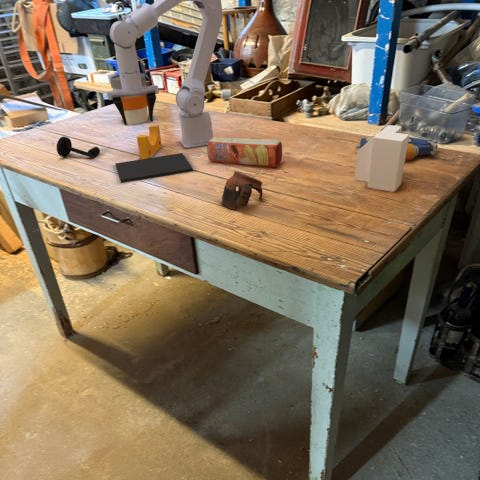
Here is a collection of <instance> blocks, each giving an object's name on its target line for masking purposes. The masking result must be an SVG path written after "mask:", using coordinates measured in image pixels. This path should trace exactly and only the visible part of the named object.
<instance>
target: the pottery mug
mask: <svg viewBox="0 0 480 480" xmlns="http://www.w3.org/2000/svg"><path fill="white" fill-rule="evenodd" d="M262 185H263V181H262V180H260V179H257V178H255V177H252V176H249V175H247V174H245V173H242V172H240V171H237V170H234V171H233V175H232V176H230V177H229V178H228V179H227V180H226V182H225V185H224V187H223V193H222V195H221V205H222V206H224V207H226V208H228V209H231V210H233V211H234V210H236V205H237V206H239V208H244V207H247V206H248V204H249V201H250V198H251V195H252V194H253V190H255V191H256V192H257V193H258V194H259V195H258V196H259V197H258V200H259V201H262V200H263V196H264V195H263V188H262Z"/></svg>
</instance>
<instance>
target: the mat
mask: <svg viewBox="0 0 480 480" xmlns="http://www.w3.org/2000/svg"><path fill="white" fill-rule="evenodd" d="M115 168H116V170H117V174H118V178H119V180H120V183H127V182H133V181H140V180H147V179H152V178H159V177H165V176H171V175H176V174H183V173H188V172H193V171H194V168H193V167H192V165H191V163H190V162H189V160H188V159H187V158H186V156H185V155H184V154H183V152H180V153H173V154H165V155H160V156H152V157H151V158H146V159H141V158H140V159H134V160H128V161H127V160H126V161H120V162H115Z"/></svg>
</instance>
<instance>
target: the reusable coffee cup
mask: <svg viewBox="0 0 480 480" xmlns="http://www.w3.org/2000/svg"><path fill="white" fill-rule="evenodd" d="M140 76H141V82H142V86H147V84H148V82H147V79H146V75H145V73H142V72H140ZM109 79H110V87H111V89H112V91H113V90H118V89H122V85H121V80H120V75H119V74H115V75H113V76H110V78H109ZM121 99H122V102H123V109H124V114H125V118H126V121H127V125H130V126H131V125H132V126H133V125H139V124H144V123H146V122H147V121H148V119H149V117H148V105H147V100H146V95H140V96H133V97H125V98H121Z"/></svg>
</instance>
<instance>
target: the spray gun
mask: <svg viewBox="0 0 480 480" xmlns="http://www.w3.org/2000/svg"><path fill="white" fill-rule="evenodd" d="M375 136H376V135H372V136H367V137H363V138H360V143H357V144H356V145H355V148H356V149H358V150H359V149H360V148H361V147H363V146H364V145H365V144H366V143H367V142H368V141H370V140H371V139H372V138H373V137H375ZM438 147H439V146H438V139H434V140H433V139H429V138H422V137H415V136H409V139H408V145H407V151H406V157H405V161H411V160H413V159H415V157H417V156H426V155H431V156H435V154H436V151H437V149H438Z"/></svg>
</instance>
